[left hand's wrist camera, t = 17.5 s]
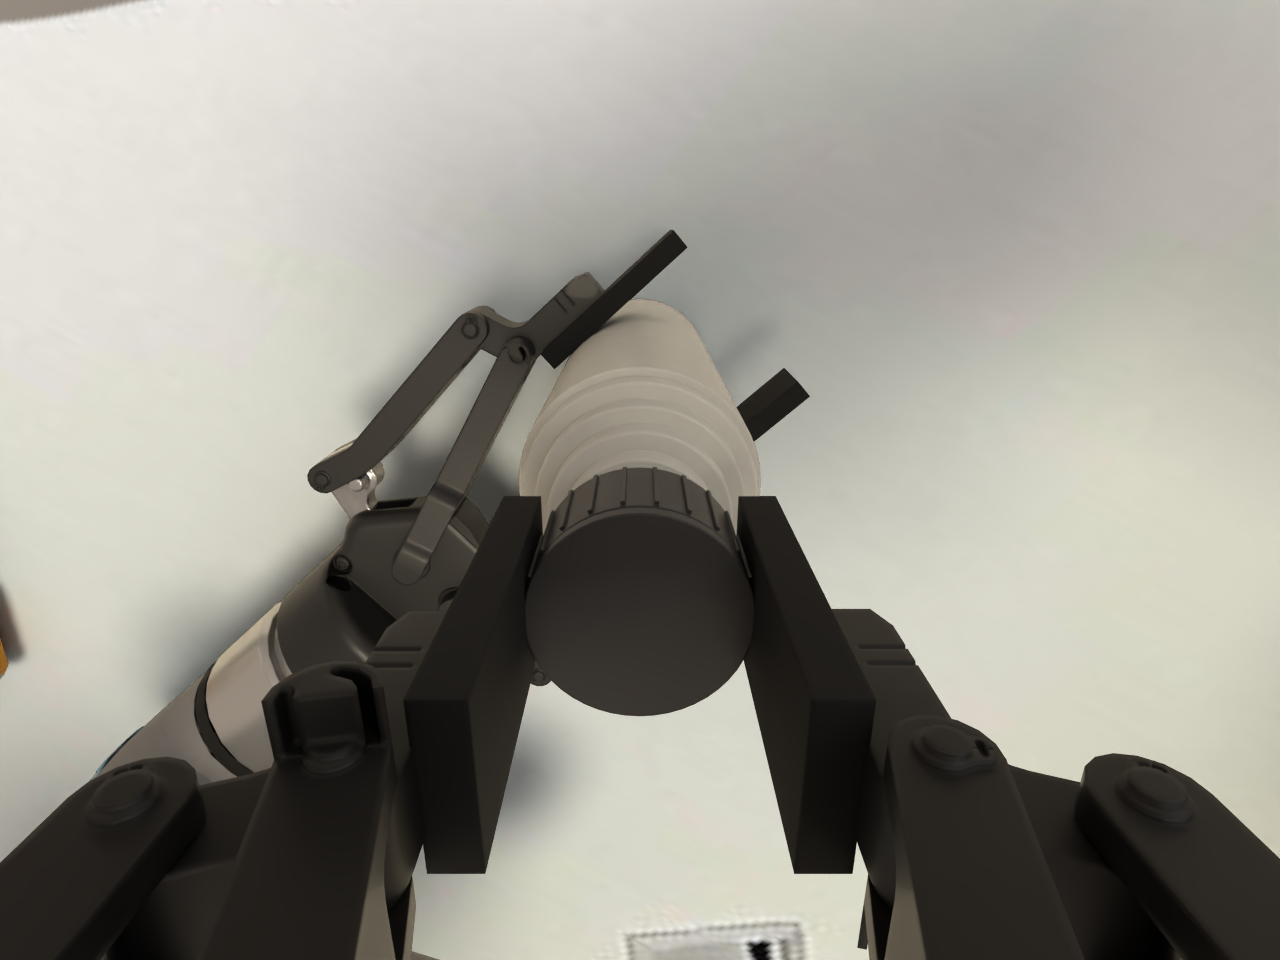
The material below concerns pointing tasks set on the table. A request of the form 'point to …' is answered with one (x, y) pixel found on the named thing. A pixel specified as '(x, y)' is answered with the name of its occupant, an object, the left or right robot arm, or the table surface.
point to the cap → (639, 594)
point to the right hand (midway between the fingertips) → (738, 312)
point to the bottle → (640, 413)
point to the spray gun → (2, 660)
